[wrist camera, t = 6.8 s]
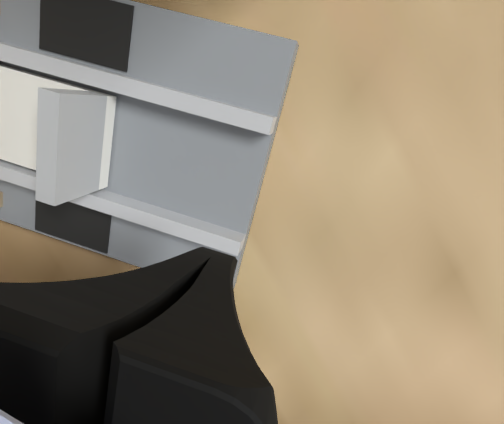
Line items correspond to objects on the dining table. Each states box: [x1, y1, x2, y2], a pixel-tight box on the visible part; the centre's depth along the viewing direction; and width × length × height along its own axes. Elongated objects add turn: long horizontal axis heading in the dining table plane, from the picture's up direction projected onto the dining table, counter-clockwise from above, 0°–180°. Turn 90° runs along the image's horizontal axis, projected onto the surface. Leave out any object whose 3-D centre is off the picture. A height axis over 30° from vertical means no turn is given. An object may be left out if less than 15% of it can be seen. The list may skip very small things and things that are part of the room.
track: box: [0, 0, 299, 289], centre depth 19 cm, size 14×27×2 cm, turn 76°
